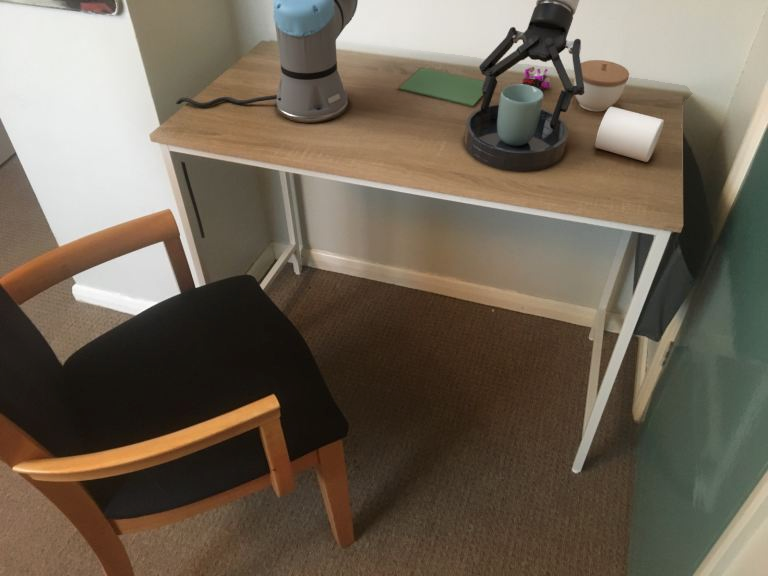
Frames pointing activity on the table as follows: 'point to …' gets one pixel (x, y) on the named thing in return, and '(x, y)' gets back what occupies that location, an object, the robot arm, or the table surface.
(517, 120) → the cup
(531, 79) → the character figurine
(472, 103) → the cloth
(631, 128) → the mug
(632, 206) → the table surface
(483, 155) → the shallow round tray
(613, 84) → the trinket box
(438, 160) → the table surface
